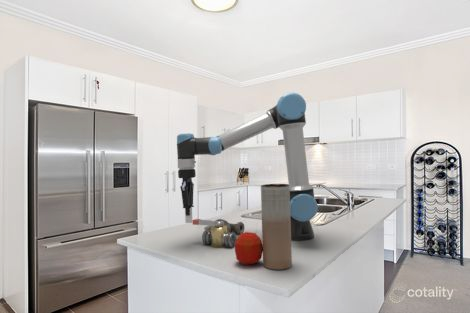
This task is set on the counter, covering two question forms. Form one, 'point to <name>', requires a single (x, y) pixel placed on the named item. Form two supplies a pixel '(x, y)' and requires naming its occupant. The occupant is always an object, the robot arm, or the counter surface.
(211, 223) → the lever
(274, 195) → the vase
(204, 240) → the valve pipe
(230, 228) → the pipe
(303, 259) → the counter surface
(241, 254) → the apple
